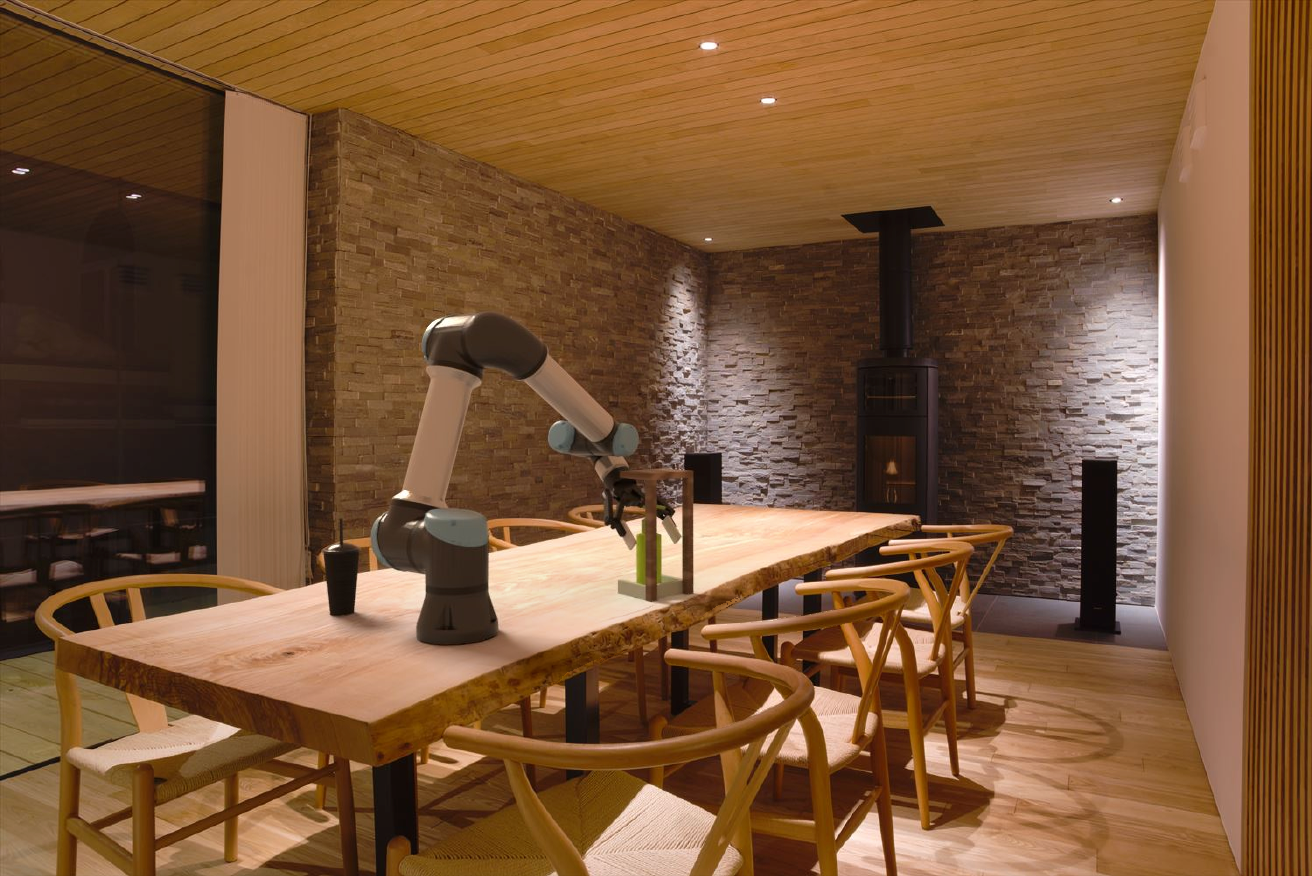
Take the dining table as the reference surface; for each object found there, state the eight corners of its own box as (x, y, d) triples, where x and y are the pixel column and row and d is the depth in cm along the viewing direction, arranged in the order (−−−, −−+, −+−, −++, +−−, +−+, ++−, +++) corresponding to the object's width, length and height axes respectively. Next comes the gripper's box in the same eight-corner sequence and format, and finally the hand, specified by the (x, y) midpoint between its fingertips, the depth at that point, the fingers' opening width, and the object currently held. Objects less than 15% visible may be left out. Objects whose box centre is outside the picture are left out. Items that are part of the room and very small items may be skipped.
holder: (646, 600, 189) (646, 586, 189) (617, 593, 197) (617, 580, 197) (687, 592, 197) (687, 579, 197) (658, 585, 205) (658, 573, 205)
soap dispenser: (666, 593, 194) (665, 506, 194) (636, 593, 194) (635, 506, 194) (666, 587, 200) (665, 503, 200) (636, 587, 200) (636, 503, 200)
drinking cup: (348, 618, 173) (347, 521, 172) (315, 616, 175) (313, 520, 174) (368, 609, 181) (367, 516, 180) (336, 608, 182) (335, 515, 182)
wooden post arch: (650, 601, 187) (650, 473, 187) (620, 594, 195) (620, 471, 195) (693, 593, 196) (693, 470, 195) (662, 586, 204) (662, 468, 203)
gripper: (648, 482, 217) (688, 547, 206) (567, 488, 201) (606, 559, 190) (661, 462, 213) (703, 528, 202) (580, 467, 196) (620, 538, 185)
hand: (656, 543), depth 196 cm, fingers open, 13 cm apart
